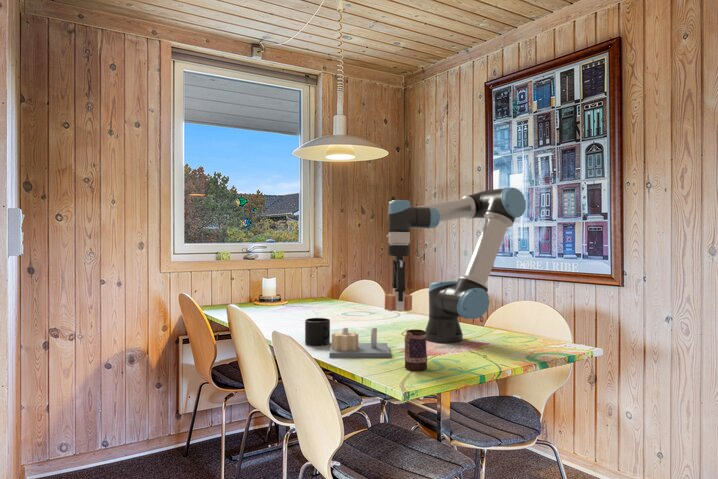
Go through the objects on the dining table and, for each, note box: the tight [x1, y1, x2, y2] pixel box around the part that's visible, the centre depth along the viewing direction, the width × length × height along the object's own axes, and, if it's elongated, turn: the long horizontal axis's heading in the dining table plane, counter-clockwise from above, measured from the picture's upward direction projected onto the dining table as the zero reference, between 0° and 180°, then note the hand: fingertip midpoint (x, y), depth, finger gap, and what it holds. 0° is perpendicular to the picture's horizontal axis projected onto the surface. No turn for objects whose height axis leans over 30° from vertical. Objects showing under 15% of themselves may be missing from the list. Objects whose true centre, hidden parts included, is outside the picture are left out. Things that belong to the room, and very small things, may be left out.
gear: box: [384, 293, 413, 312], centre depth 175 cm, size 9×9×5 cm
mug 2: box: [404, 328, 428, 372], centre depth 154 cm, size 10×7×12 cm
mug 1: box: [304, 317, 331, 347], centre depth 191 cm, size 9×12×9 cm
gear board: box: [328, 327, 391, 358], centre depth 177 cm, size 21×16×8 cm
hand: (398, 308), depth 175 cm, fingers closed on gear, 9 cm apart
